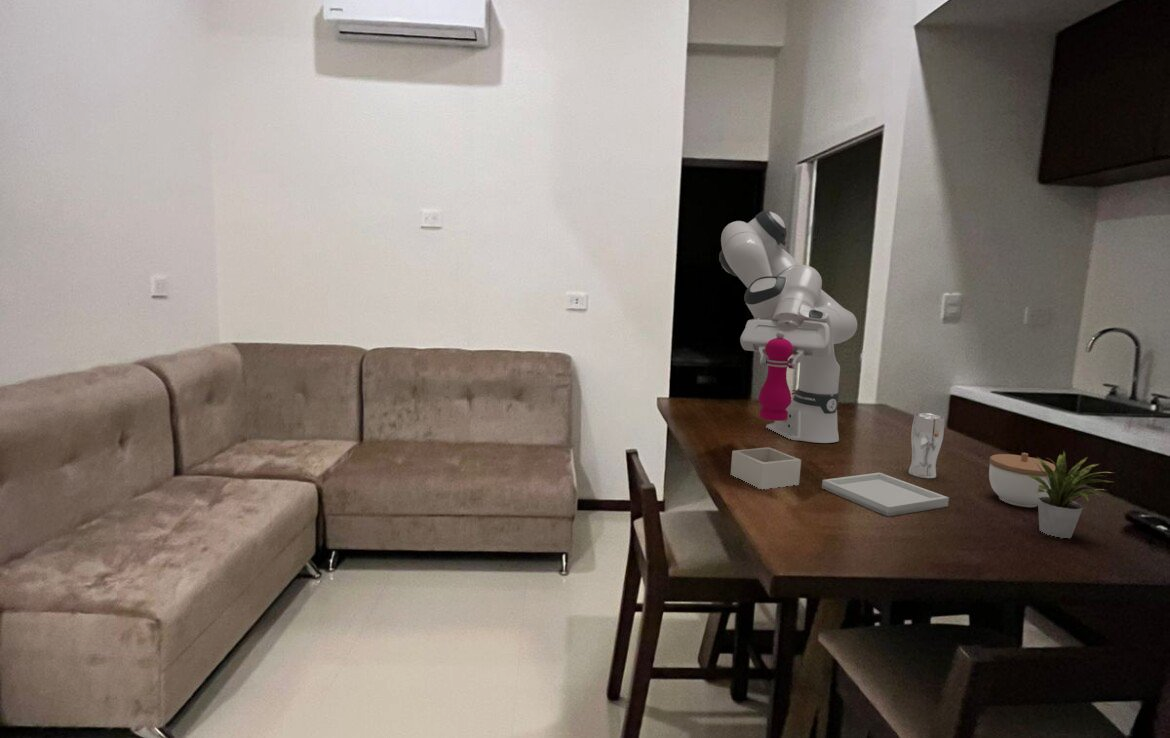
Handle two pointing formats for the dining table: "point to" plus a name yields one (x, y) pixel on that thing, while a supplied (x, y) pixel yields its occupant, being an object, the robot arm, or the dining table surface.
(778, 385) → the pepper mill
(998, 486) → the lidded bowl
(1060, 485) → the house plant
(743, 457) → the open rectangular box
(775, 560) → the dining table surface
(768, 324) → the robot arm
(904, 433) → the dining table surface
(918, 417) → the beer glass
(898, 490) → the tray
